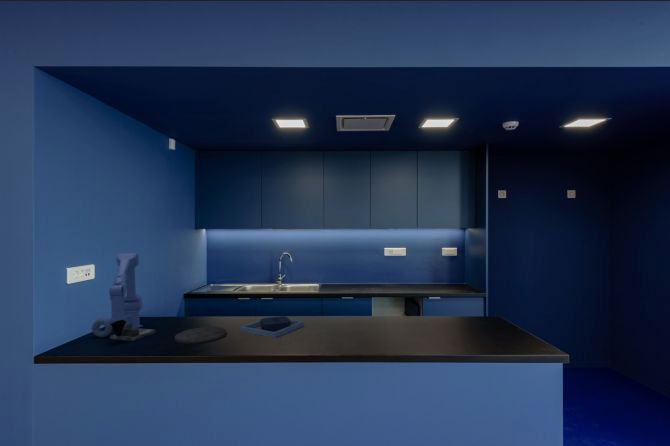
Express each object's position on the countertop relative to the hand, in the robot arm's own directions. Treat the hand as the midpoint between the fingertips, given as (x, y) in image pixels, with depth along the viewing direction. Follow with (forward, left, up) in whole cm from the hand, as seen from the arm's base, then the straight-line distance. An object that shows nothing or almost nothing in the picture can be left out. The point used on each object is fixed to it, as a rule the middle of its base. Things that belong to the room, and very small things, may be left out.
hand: (118, 336), depth 188 cm
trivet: (+30, +26, -3) cm, 40 cm away
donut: (-16, 0, -3) cm, 17 cm away
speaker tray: (+54, +54, -3) cm, 76 cm away
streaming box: (+56, +54, -3) cm, 78 cm away
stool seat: (-4, +10, -3) cm, 11 cm away
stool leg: (-2, +6, -1) cm, 6 cm away
